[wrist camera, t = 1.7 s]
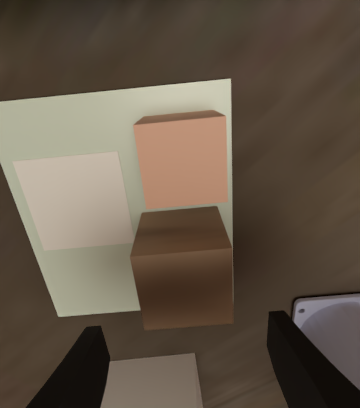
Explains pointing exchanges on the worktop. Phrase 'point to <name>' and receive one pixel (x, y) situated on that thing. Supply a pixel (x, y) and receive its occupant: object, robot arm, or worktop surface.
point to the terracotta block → (182, 158)
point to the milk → (153, 383)
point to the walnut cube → (183, 268)
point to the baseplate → (93, 184)
